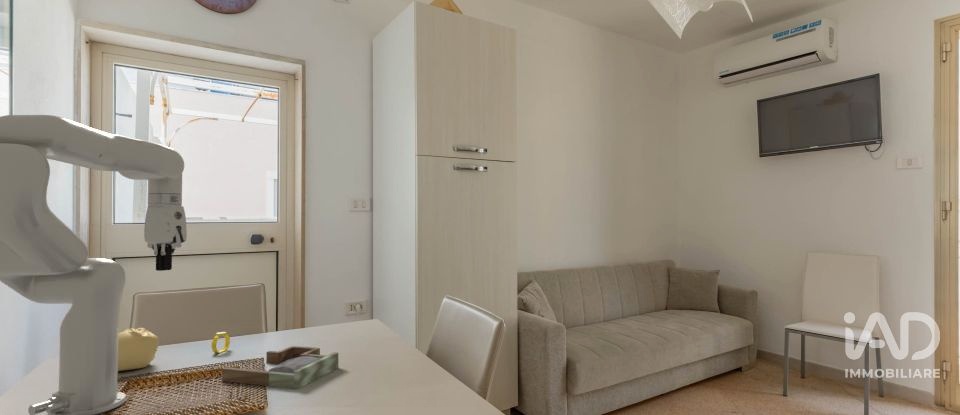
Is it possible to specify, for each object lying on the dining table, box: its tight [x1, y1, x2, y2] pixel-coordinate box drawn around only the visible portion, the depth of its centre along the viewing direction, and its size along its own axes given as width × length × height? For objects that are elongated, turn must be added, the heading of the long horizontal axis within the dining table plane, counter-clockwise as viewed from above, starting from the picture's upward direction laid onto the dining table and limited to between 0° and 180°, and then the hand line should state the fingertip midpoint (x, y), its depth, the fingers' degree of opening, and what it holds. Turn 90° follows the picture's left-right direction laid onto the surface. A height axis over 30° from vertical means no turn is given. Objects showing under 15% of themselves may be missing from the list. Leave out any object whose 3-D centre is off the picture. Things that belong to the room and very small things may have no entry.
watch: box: [211, 331, 231, 354], centre depth 139 cm, size 6×3×6 cm, turn 169°
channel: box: [221, 345, 339, 390], centre depth 121 cm, size 22×22×4 cm
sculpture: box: [118, 327, 160, 372], centre depth 124 cm, size 11×12×11 cm
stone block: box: [268, 356, 321, 373], centre depth 117 cm, size 12×5×10 cm
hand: (163, 270), depth 121 cm, fingers closed
